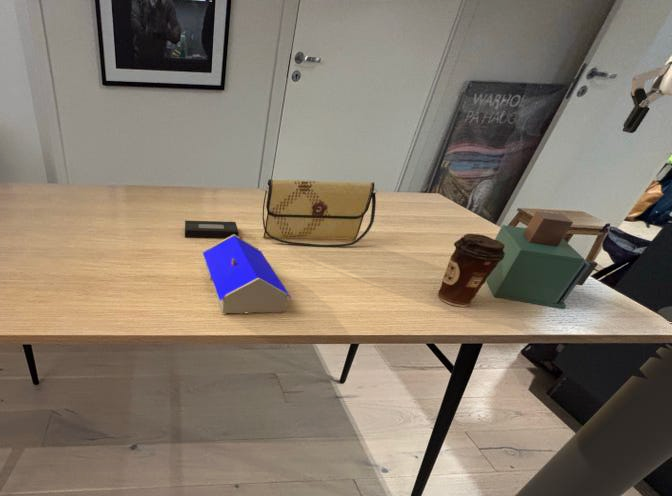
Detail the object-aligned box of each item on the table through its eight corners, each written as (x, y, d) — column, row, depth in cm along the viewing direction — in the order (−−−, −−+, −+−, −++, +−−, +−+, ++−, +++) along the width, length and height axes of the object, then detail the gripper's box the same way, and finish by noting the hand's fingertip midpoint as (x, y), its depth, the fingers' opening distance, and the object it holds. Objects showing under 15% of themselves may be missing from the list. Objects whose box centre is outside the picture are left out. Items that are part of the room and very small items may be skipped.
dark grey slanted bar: (573, 290, 85) (599, 253, 80) (587, 306, 79) (616, 268, 74) (547, 285, 86) (572, 249, 81) (559, 302, 81) (586, 264, 75)
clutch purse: (259, 245, 102) (268, 184, 93) (255, 235, 108) (263, 177, 98) (370, 248, 103) (390, 188, 94) (360, 238, 109) (378, 180, 99)
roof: (202, 265, 91) (203, 234, 87) (259, 263, 93) (263, 233, 89) (218, 314, 74) (221, 279, 70) (288, 311, 76) (295, 277, 72)
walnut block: (549, 238, 83) (564, 214, 80) (557, 246, 79) (573, 222, 76) (522, 234, 84) (536, 211, 81) (529, 242, 81) (543, 218, 77)
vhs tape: (184, 227, 111) (185, 220, 109) (234, 228, 111) (235, 221, 110) (185, 237, 105) (185, 230, 103) (237, 238, 105) (238, 231, 104)
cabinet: (541, 277, 92) (569, 234, 86) (564, 309, 81) (599, 261, 74) (479, 267, 95) (502, 224, 89) (493, 296, 84) (521, 249, 77)
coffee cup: (431, 303, 81) (460, 243, 72) (428, 286, 87) (455, 229, 79) (478, 313, 78) (514, 251, 70) (472, 295, 84) (505, 236, 76)
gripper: (689, 7, 61) (612, 133, 71) (840, 8, 56) (733, 142, 67) (662, 12, 66) (595, 127, 77) (798, 13, 62) (706, 135, 72)
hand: (659, 134), depth 72 cm, fingers open, 9 cm apart
